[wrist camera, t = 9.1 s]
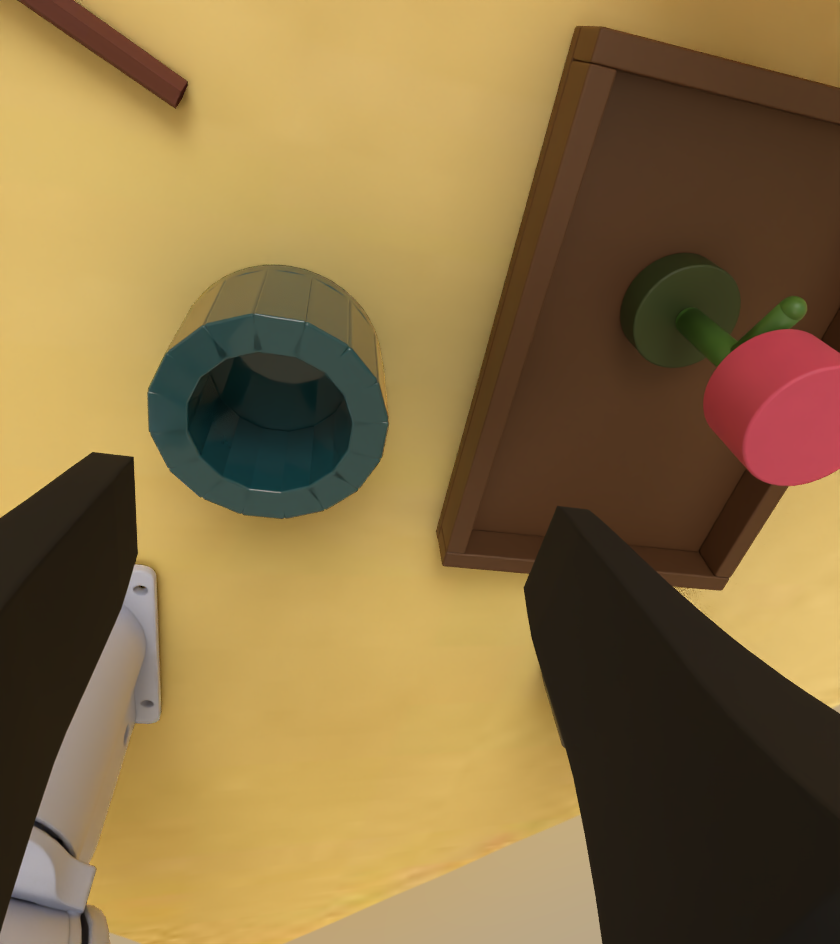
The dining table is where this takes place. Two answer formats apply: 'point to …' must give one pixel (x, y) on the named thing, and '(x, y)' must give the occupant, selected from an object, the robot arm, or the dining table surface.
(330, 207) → the dining table surface
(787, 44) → the dining table surface
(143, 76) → the brown piece
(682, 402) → the tray
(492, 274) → the dining table surface
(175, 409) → the vase
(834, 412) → the rose
